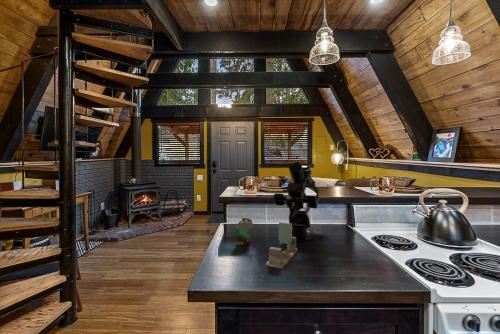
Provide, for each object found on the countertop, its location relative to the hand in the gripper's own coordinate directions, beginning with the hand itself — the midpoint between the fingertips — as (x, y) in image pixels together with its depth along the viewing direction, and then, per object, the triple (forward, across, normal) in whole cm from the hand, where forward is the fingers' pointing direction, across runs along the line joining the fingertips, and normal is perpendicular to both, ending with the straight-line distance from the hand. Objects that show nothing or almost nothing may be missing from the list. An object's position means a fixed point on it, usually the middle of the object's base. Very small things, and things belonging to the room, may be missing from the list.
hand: (291, 216), depth 113 cm
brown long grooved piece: (+17, 0, +2) cm, 17 cm away
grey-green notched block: (+14, 0, +2) cm, 14 cm away
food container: (+11, -20, +9) cm, 25 cm away
